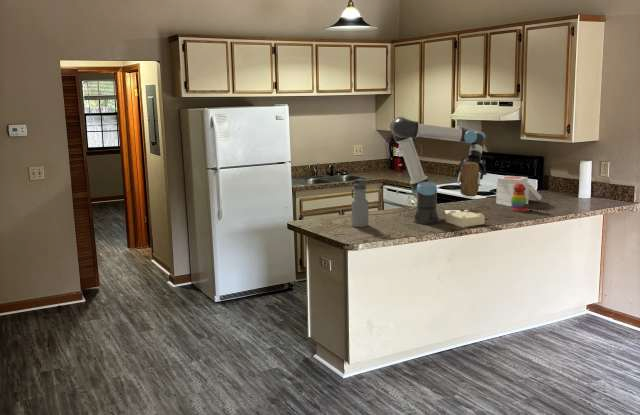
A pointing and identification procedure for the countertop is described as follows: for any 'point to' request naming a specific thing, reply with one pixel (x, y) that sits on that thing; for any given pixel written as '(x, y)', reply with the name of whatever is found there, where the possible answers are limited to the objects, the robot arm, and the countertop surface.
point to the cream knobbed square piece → (465, 218)
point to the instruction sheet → (452, 211)
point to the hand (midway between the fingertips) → (468, 182)
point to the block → (469, 179)
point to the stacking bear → (519, 198)
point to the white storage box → (507, 189)
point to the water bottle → (359, 204)
